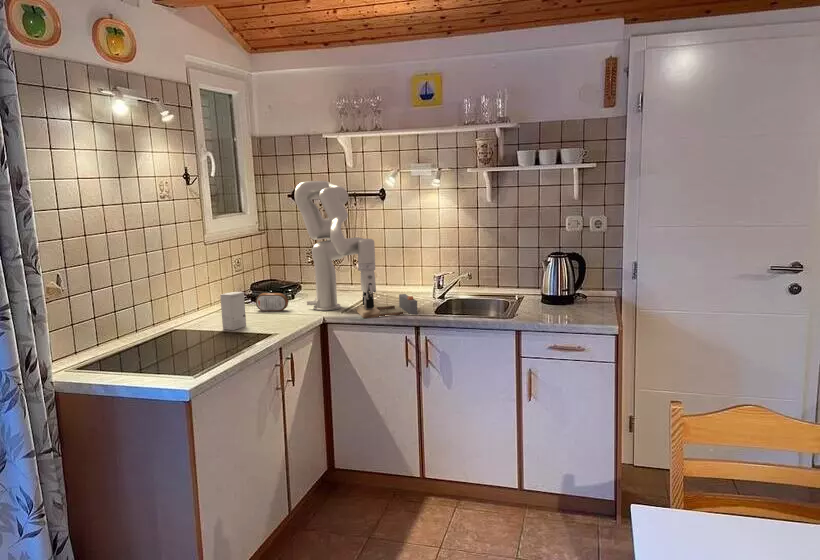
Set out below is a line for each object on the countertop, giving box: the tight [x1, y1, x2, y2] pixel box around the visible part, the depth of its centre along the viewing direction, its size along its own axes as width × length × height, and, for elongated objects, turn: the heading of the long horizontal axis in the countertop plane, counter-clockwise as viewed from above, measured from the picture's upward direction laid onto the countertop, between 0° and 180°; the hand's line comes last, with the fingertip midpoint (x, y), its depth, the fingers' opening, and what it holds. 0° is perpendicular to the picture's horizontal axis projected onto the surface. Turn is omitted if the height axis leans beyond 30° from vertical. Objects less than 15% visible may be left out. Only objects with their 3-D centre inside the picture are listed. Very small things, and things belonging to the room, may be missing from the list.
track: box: [355, 305, 404, 319], centre depth 284 cm, size 18×15×1 cm
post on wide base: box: [356, 295, 381, 318], centre depth 282 cm, size 8×11×8 cm
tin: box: [255, 292, 289, 312], centre depth 295 cm, size 15×3×8 cm, turn 84°
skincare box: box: [219, 291, 247, 331], centre depth 263 cm, size 8×6×15 cm
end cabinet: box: [398, 293, 418, 315], centre depth 288 cm, size 3×18×6 cm, turn 17°
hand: (368, 306), depth 282 cm, fingers open, 6 cm apart
